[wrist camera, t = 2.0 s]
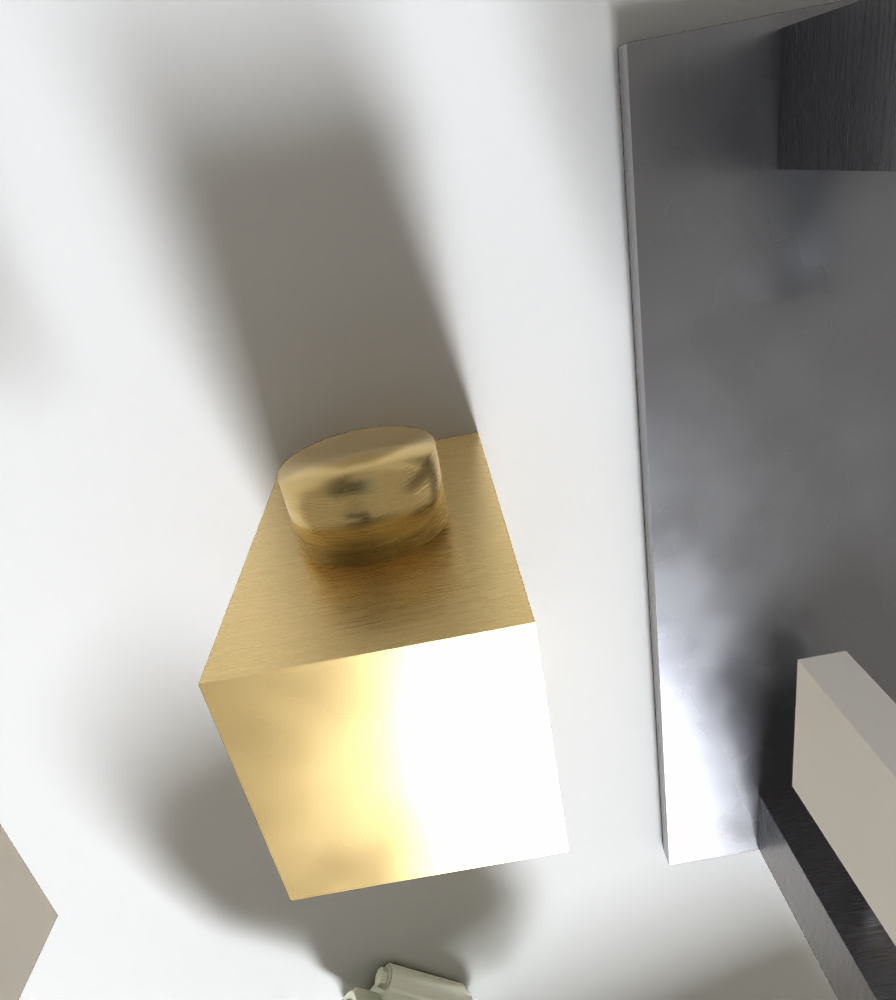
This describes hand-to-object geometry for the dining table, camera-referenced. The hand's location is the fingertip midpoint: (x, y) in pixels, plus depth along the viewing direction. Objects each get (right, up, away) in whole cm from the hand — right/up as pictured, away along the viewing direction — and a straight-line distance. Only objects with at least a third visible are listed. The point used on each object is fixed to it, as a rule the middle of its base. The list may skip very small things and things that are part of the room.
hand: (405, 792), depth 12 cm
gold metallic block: (-1, +4, +7) cm, 8 cm away
